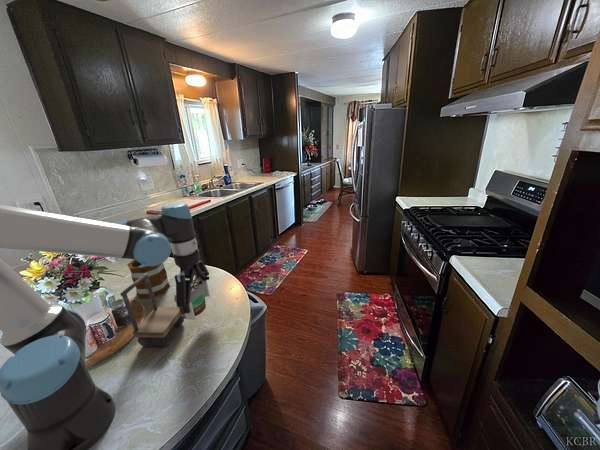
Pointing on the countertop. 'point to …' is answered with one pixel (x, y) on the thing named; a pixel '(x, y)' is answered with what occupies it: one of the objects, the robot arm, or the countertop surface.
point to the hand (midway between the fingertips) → (198, 306)
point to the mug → (155, 276)
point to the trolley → (153, 319)
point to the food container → (196, 297)
